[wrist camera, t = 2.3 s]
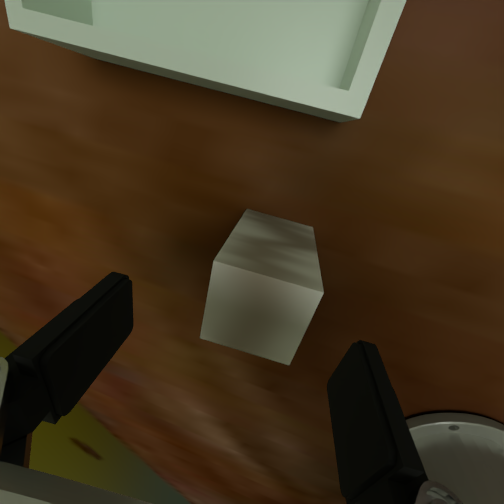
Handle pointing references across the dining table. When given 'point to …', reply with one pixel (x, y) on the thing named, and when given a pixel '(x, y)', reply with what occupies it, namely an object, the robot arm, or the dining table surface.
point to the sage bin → (232, 44)
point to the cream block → (263, 287)
